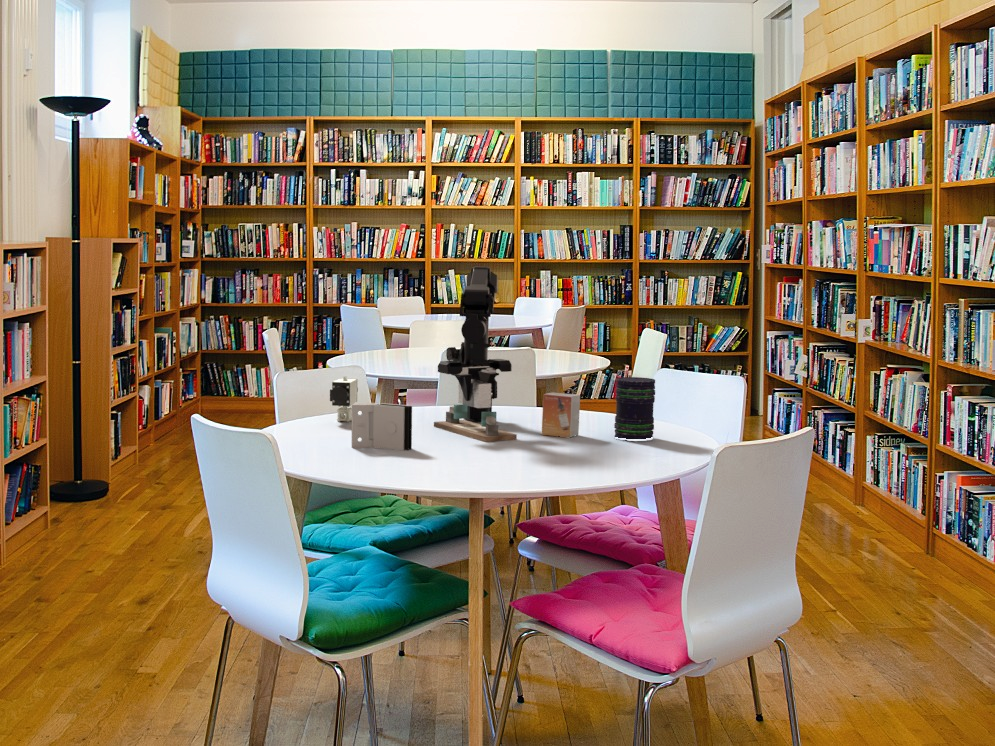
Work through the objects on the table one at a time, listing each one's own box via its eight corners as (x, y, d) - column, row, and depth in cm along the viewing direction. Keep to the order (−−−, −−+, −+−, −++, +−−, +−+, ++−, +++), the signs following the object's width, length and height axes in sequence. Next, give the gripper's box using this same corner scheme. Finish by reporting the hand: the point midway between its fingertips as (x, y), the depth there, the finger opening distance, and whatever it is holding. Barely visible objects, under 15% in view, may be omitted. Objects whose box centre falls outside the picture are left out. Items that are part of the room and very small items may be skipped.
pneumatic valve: (358, 418, 292) (358, 374, 291) (348, 424, 281) (348, 379, 279) (338, 417, 293) (338, 373, 291) (327, 423, 281) (327, 378, 280)
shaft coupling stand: (463, 424, 285) (463, 400, 284) (516, 439, 263) (517, 413, 262) (433, 426, 280) (434, 402, 280) (485, 441, 258) (485, 416, 258)
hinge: (350, 448, 247) (350, 404, 246) (357, 444, 252) (357, 402, 251) (408, 450, 245) (409, 407, 244) (414, 447, 250) (415, 404, 249)
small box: (541, 435, 270) (542, 394, 269) (550, 432, 275) (551, 391, 274) (570, 438, 266) (571, 396, 265) (579, 435, 271) (580, 394, 270)
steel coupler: (491, 407, 268) (491, 383, 267) (477, 408, 266) (478, 384, 265) (471, 402, 276) (471, 379, 276) (457, 403, 274) (458, 379, 274)
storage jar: (652, 442, 262) (654, 382, 260) (612, 440, 264) (614, 380, 262) (654, 436, 272) (656, 378, 270) (615, 434, 274) (617, 376, 272)
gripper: (490, 335, 281) (489, 394, 283) (427, 337, 271) (426, 398, 273) (513, 339, 271) (512, 399, 273) (449, 340, 262) (448, 404, 263)
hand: (474, 400), depth 271 cm, fingers closed on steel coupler, 4 cm apart
